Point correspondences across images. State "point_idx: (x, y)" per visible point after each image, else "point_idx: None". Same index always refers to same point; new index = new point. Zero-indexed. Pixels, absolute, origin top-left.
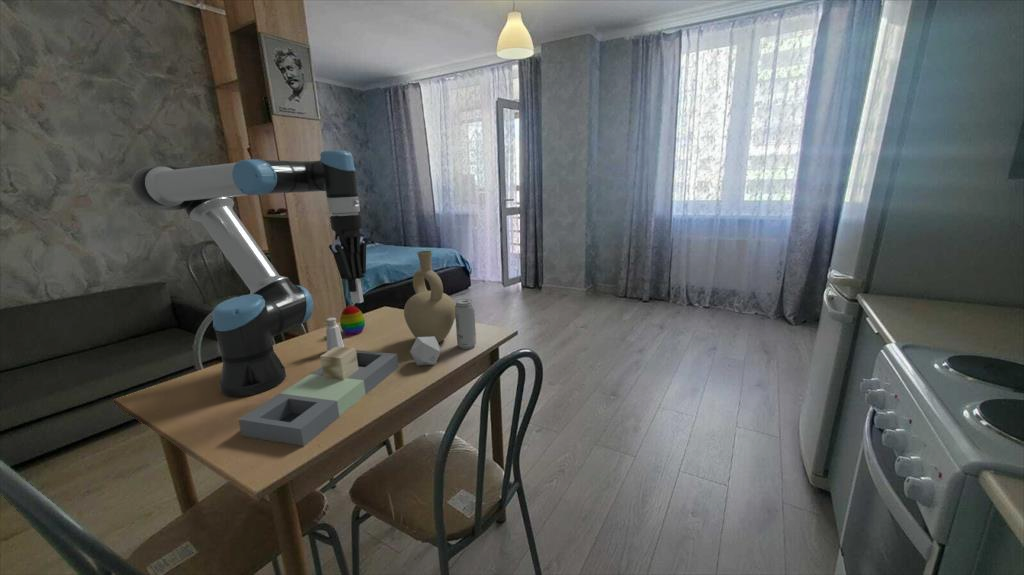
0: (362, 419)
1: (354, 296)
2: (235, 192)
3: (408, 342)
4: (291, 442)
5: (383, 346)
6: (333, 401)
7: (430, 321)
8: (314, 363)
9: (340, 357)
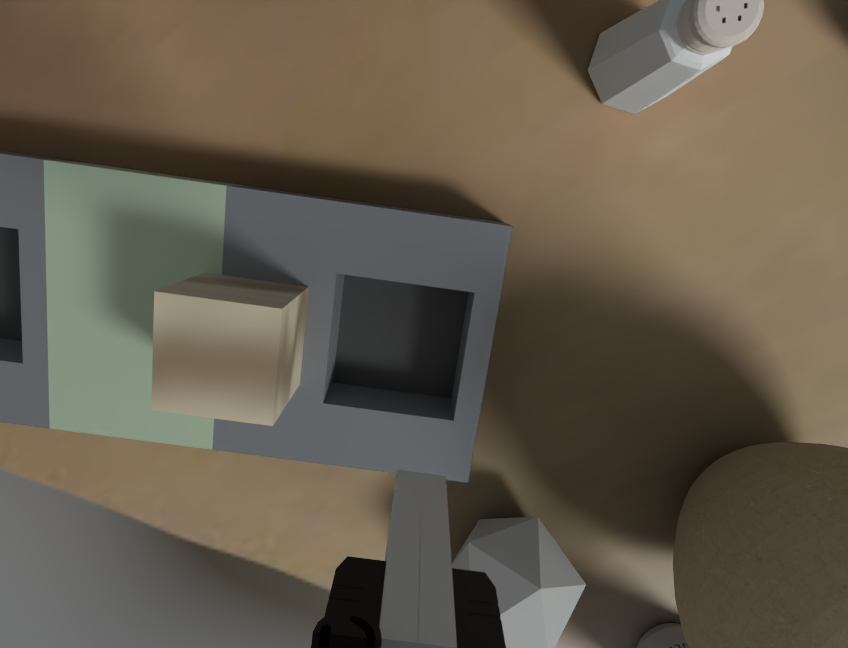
0: (91, 481)
1: (388, 539)
2: None
3: (728, 399)
4: None
5: (685, 296)
6: (42, 418)
7: (687, 640)
8: (481, 33)
9: (157, 406)
